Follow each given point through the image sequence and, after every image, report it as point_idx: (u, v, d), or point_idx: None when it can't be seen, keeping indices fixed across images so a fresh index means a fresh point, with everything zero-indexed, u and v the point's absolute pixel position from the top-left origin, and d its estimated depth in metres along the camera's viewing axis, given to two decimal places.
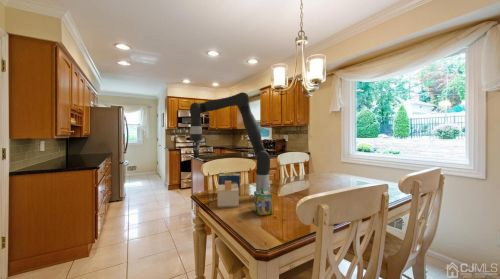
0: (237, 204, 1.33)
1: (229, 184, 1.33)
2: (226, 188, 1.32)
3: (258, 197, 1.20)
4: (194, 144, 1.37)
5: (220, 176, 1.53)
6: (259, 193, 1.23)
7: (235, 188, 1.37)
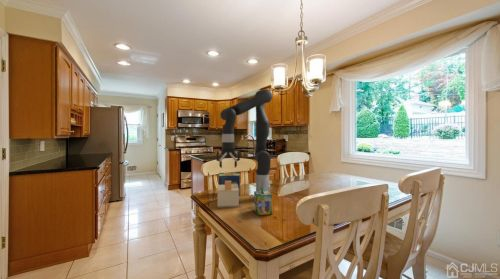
0: (237, 204, 1.33)
1: (229, 184, 1.33)
2: (226, 188, 1.32)
3: (258, 197, 1.20)
4: None
5: (220, 176, 1.53)
6: (259, 193, 1.23)
7: (235, 188, 1.37)
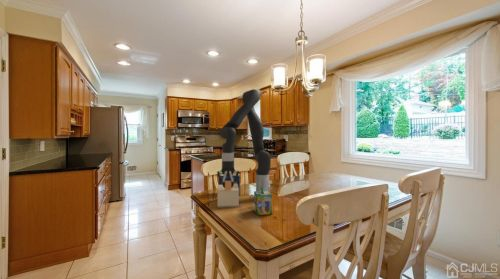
0: (237, 204, 1.33)
1: (229, 184, 1.33)
2: (226, 188, 1.32)
3: (258, 197, 1.20)
4: None
5: None
6: (259, 193, 1.23)
7: (235, 188, 1.37)
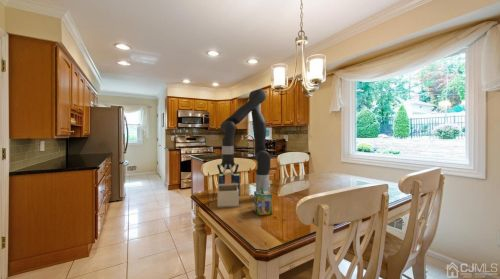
0: (237, 204, 1.33)
1: (229, 177, 1.34)
2: (226, 182, 1.33)
3: (258, 197, 1.20)
4: (238, 166, 1.35)
5: (220, 176, 1.53)
6: (259, 193, 1.23)
7: None
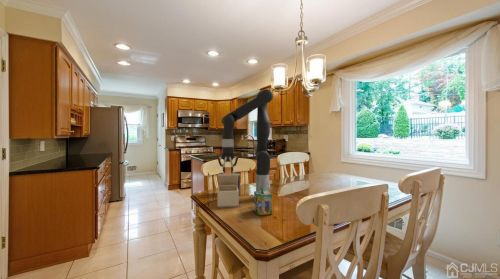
0: (237, 204, 1.33)
1: (229, 169, 1.38)
2: (226, 173, 1.36)
3: (258, 197, 1.20)
4: (237, 159, 1.40)
5: None
6: (259, 193, 1.23)
7: None
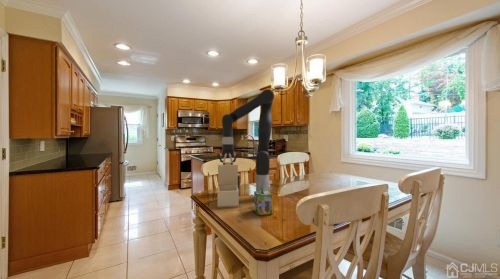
0: (237, 204, 1.33)
1: (229, 163, 1.47)
2: (226, 165, 1.44)
3: (258, 197, 1.20)
4: None
5: None
6: (259, 193, 1.23)
7: None
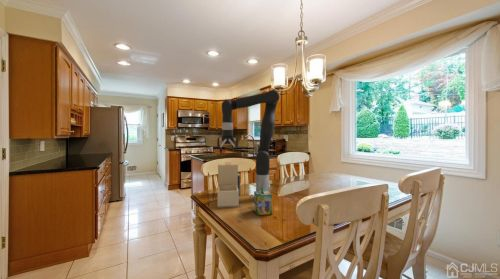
0: (237, 204, 1.33)
1: (229, 163, 1.47)
2: (226, 164, 1.45)
3: (258, 197, 1.20)
4: (237, 139, 1.50)
5: None
6: (259, 193, 1.23)
7: None
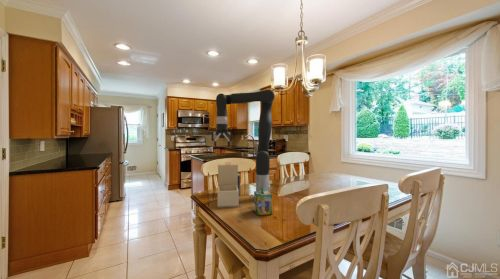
0: (237, 204, 1.33)
1: (229, 163, 1.47)
2: (226, 164, 1.45)
3: (258, 197, 1.20)
4: (231, 133, 1.49)
5: None
6: (259, 193, 1.23)
7: None
